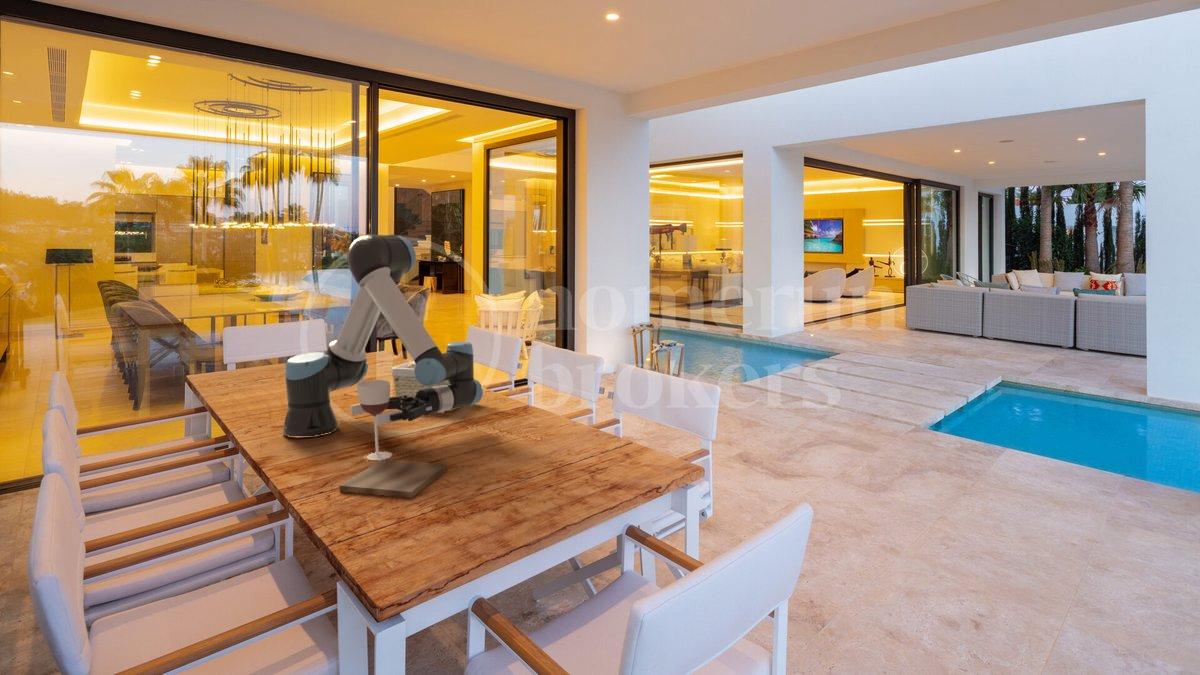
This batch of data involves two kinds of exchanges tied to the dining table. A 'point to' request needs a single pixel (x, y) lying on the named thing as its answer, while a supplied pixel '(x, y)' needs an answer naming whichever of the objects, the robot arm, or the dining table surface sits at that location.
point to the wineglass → (375, 407)
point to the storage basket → (409, 381)
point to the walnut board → (394, 478)
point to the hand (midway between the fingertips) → (363, 415)
